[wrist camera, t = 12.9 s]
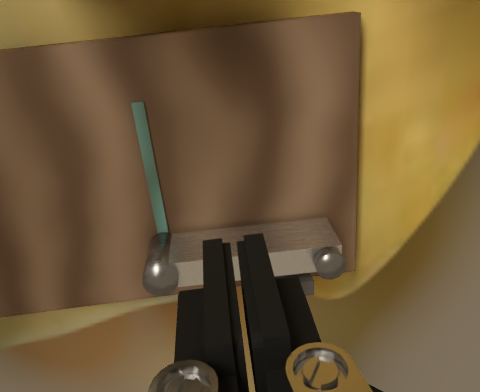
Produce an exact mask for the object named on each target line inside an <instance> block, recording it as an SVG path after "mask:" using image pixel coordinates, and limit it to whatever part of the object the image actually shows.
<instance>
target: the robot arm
mask: <svg viewBox="0 0 480 392" xmlns="http://www.w3.org/2000/svg"><path fill="white" fill-rule="evenodd" d="M243 238H244V241H236V242H237V251H238V260H239V269H240V277H241V286H242V295H243V303H244V311H245V321H246V328H247V335H248V341H249V349H250V356H251V363H252V370H253V377H254V384H255V391H256V392H383V391H381V390H379V389H377V388H375V387H373V386H371V385H369V384H368V383H367V382H366V380H365V379H364V377H363V375H362V374H361V372H360V370H359V369H358V367H357V366H356V364H355V362H354V361H353V359H352V358H351V357H350V356H349V355H348V354H347V352H345V351H344V350H342V349H341V348H339V347H337V346H334V345H332V344H329V343H321V340H320V337H319V334H318V331H317V328H316V326H315V323H314V320H313V317H312V314H311V311H310V308H309V306H308V302H307V300H306V297H305V294H304V291H303V288H302V285H301V282H300V280H299V277H298V276H291V277H283V278H275V277H274V273H273V269H272V265H271V261H270V258H269V254H268V250H267V246H266V243H265V239H264V235H263V233H258V234H250V235H243ZM202 243H203V288H199V289H191V290H184V291H179V295H178V310H177V311H178V312H177V326H176V342H175V358H174V363H173V364H170V365H168V366H167V367H165V368H164V369H162V370H161V371H160V372H159V373H158V374H157V375H156V376H155V377H154V379H153V381H152V383H151V385H150V387H149V390H148V392H249V388H248V379H247V372H246V363H245V355H244V347H243V339H242V331H241V324H240V315H239V307H238V300H237V291H236V284H235V276H234V268H233V260H232V252H231V245H230V242H228V243H223V242H222V238H218V239H211V240H203V242H202Z"/></svg>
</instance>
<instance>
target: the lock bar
mask: <svg viewBox="0 0 480 392" xmlns="http://www.w3.org/2000/svg"><path fill="white" fill-rule="evenodd" d="M258 233H263V235H264V239H265V243H266V246H267V250H268V254H269V258H270V261H271V265H272V269H273V273H274V277H275V276H283V275H292V274H301V273H310V272H317V273H318V274H319V276H321V277H322V278H324V279H334V278H337V277H339V276H340V275H341V274H342V273H343V272H344V270H345V268H346V262H345V260H344V258H343V256H342V244H341V242H340V241H339V239H338V237H337V235H336V233H335V232H334V230H333V228H332V226H331V225H330V223H329V221H328V219H327V217H326V218H316V219H307V220H297V221H288V222H278V223H269V224H259V225H250V226H240V227H231V228H222V229H212V230H203V231H193V232H184V233H174V234H171V233H167V232H162V233H158V234H156V235H154V236H153V237H152V238H151V240H150V242H149V247H148V252H147V257H146V262H145V268H144V273H143V278H142V284H143V287H144V288H145V290H146V291H148V292H149V293H151V294H153V295H156V296H165V295H168V294H170V293H172V292H173V291H175V289H176V288H177V287H185V286H194V285H203V243H202V242H203V240H211V239H218V238H222V242H223V243H228V242H230V245H231V252H232V260H233V268H234V276H235V281H239V280H241V277H240V269H239V260H238V251H237V242H236V241H244V238H243V235H250V234H258Z"/></svg>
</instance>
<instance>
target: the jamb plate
mask: <svg viewBox="0 0 480 392" xmlns="http://www.w3.org/2000/svg"><path fill="white" fill-rule="evenodd" d="M360 20H361V13H359V12H344V13H335V14H326V15H317V16H308V17H299V18H289V19H280V20H271V21H262V22H253V23H243V24H234V25H225V26H216V27H207V28H197V29H188V30H179V31H170V32H161V33H151V34H142V35H133V36H124V37H115V38H105V39H96V40H87V41H78V42H69V43H59V44H50V45H41V46H32V47H23V48H14V49H4V50H0V317H7V316H14V315H22V314H29V313H37V312H45V311H52V310H60V309H68V308H75V307H83V306H90V305H98V304H106V303H113V302H121V301H129V300H136V299H144V298H151V297H159V296H156V295H153V294H151V293H149V292H148V291H146V290H145V288H144V287H143V284H142V278H143V273H144V268H145V262H146V257H147V252H148V247H149V242H150V240H151V238H152V237H153V236H154V235H156V234H158V233H162V232H167V233H171V234H174V233H184V232H193V231H203V230H212V229H222V228H231V227H240V226H250V225H259V224H269V223H278V222H288V221H297V220H307V219H316V218H326V217H327V219H328V221H329V223H330V225H331V226H332V228H333V230H334V232H335V233H336V235H337V237H338V239H339V241H340V242H341V244H342V256H343V258H344V260H345V262H346V268H345V270H344V272H350V271H355V242H356V197H357V153H358V109H359V65H360ZM291 276H298V277H299V280H300V282H301V285H302V288H303V291H304V294H305V296H306V295H314V280H313V278H312V276H319V274H318V273H317V272H310V273H301V274H292V275H283V276H275V278H283V277H291ZM235 284H236V286H241V280H239V281H235ZM199 288H203V285H194V286H185V287H177V288H176V289H175V291H173V292H172V293H170V294H168V295H174V294H179V291H184V290H191V289H199ZM165 296H167V295H165Z"/></svg>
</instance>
